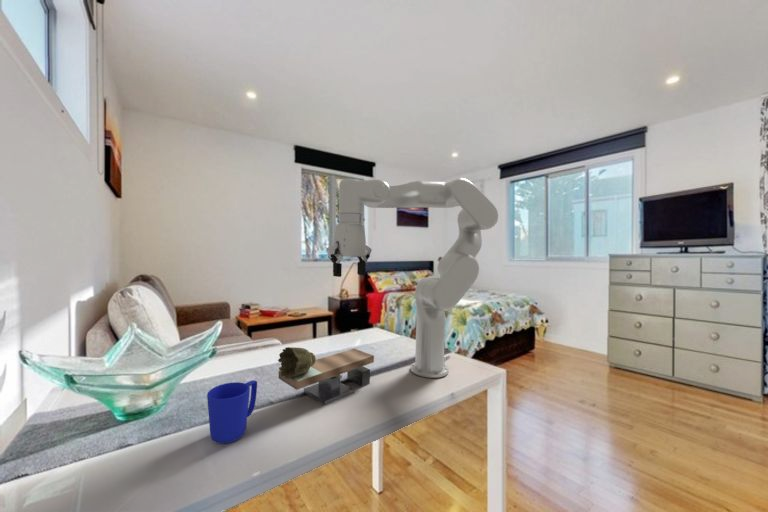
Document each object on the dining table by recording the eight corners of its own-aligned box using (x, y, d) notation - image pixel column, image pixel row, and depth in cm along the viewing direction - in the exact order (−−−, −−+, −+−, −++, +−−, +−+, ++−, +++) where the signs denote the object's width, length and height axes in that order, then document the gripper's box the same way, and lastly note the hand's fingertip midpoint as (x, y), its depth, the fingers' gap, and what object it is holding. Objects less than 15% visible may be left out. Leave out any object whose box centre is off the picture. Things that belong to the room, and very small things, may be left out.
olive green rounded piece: (322, 372, 82) (296, 377, 75) (304, 375, 86) (278, 380, 80) (319, 342, 84) (294, 345, 78) (302, 346, 88) (277, 349, 82)
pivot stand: (351, 375, 102) (351, 359, 102) (373, 385, 95) (373, 367, 95) (303, 392, 89) (304, 373, 89) (324, 405, 83) (325, 385, 82)
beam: (353, 357, 102) (353, 347, 102) (374, 365, 95) (374, 355, 95) (277, 381, 84) (277, 370, 83) (297, 394, 77) (297, 382, 76)
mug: (269, 421, 75) (269, 378, 74) (228, 452, 63) (228, 402, 63) (241, 414, 77) (241, 373, 77) (197, 442, 66) (197, 395, 66)
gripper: (363, 222, 107) (362, 273, 107) (320, 218, 94) (319, 276, 95) (379, 221, 102) (377, 275, 102) (335, 217, 89) (334, 278, 90)
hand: (349, 275), depth 99 cm, fingers open, 9 cm apart
